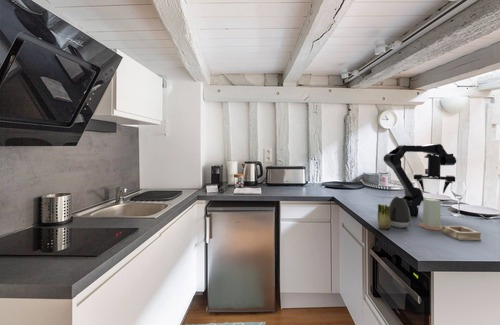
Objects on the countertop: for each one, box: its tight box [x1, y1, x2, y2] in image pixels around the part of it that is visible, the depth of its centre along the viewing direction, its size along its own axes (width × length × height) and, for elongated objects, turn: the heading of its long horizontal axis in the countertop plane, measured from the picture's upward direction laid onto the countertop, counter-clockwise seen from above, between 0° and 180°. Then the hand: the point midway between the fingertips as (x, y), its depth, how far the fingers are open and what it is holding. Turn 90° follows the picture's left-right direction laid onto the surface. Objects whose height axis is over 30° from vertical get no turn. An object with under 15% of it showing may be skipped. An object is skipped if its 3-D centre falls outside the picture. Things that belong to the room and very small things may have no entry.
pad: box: [418, 221, 443, 232], centre depth 115 cm, size 10×10×1 cm
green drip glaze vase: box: [377, 203, 391, 230], centre depth 114 cm, size 6×5×12 cm
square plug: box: [422, 197, 442, 227], centre depth 115 cm, size 5×5×13 cm
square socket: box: [441, 225, 482, 241], centre depth 104 cm, size 9×9×3 cm
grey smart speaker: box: [388, 195, 412, 229], centre depth 117 cm, size 10×10×15 cm
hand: (433, 192), depth 135 cm, fingers open, 9 cm apart
